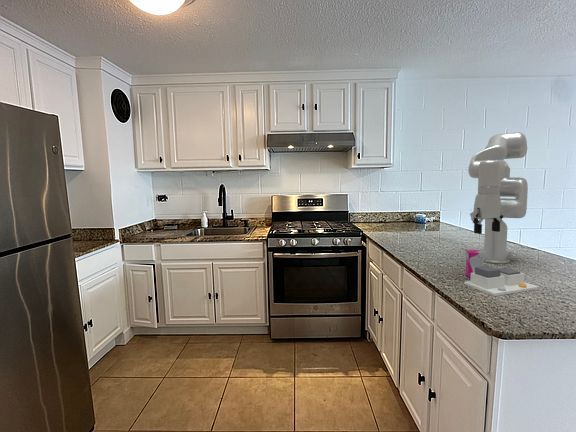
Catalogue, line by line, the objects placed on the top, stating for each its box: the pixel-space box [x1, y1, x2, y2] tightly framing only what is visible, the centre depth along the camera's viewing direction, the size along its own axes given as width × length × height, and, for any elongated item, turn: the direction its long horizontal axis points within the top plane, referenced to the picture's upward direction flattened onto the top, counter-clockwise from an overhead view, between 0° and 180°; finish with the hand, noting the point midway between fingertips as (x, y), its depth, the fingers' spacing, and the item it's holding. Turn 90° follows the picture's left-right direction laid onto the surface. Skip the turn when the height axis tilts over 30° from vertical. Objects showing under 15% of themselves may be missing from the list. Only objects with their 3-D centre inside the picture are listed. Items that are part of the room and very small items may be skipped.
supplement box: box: [465, 249, 485, 279], centre depth 137 cm, size 6×6×12 cm
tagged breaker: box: [499, 267, 521, 275], centre depth 128 cm, size 6×6×4 cm
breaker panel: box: [464, 271, 540, 297], centre depth 125 cm, size 21×14×5 cm, turn 105°
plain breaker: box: [475, 265, 501, 278], centre depth 125 cm, size 6×6×4 cm
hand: (486, 232), depth 132 cm, fingers open, 9 cm apart
